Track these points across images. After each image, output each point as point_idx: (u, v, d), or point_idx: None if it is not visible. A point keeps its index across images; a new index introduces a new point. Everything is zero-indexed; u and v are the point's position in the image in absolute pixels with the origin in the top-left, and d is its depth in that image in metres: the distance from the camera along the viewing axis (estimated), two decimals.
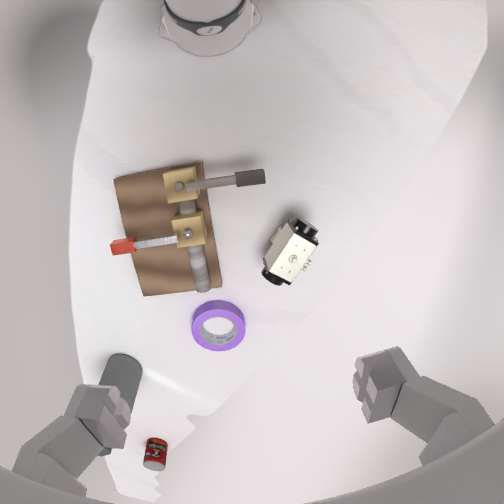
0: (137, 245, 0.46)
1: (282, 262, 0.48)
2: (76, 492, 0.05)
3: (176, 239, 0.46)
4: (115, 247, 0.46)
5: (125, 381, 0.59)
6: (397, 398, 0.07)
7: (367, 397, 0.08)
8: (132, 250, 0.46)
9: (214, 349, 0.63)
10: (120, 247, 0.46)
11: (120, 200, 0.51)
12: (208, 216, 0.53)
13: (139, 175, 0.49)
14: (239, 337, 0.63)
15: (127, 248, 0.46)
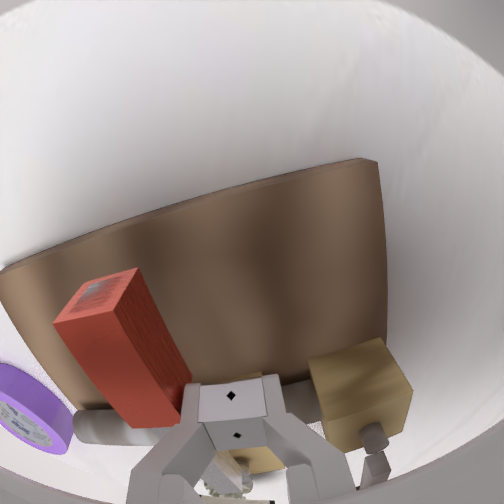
0: (166, 429, 0.08)
1: None
2: None
3: (229, 492, 0.11)
4: (109, 347, 0.06)
5: None
6: (265, 430, 0.07)
7: None
8: (133, 420, 0.07)
9: None
10: (122, 374, 0.06)
11: (298, 190, 0.13)
12: None
13: (381, 260, 0.15)
14: (32, 444, 0.20)
15: (133, 404, 0.07)
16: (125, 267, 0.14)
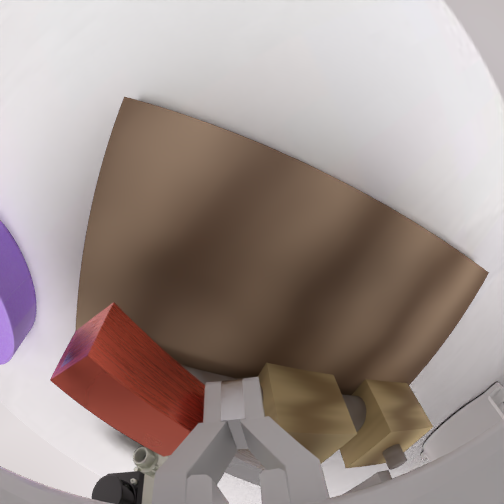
0: None
1: None
2: None
3: None
4: (102, 388, 0.06)
5: None
6: (244, 432, 0.07)
7: None
8: (160, 449, 0.07)
9: None
10: (126, 410, 0.06)
11: (459, 262, 0.15)
12: None
13: (450, 330, 0.18)
14: None
15: (151, 435, 0.07)
16: (343, 228, 0.14)
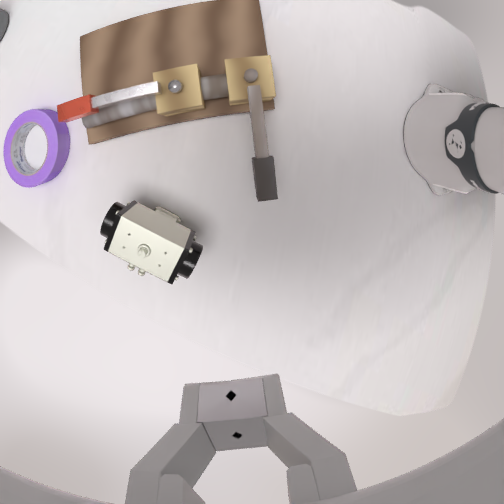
0: (95, 101, 0.24)
1: (136, 235, 0.29)
2: None
3: (156, 87, 0.25)
4: (64, 108, 0.24)
5: None
6: (265, 430, 0.07)
7: None
8: (86, 109, 0.24)
9: (5, 147, 0.29)
10: (70, 107, 0.24)
11: (226, 2, 0.27)
12: (193, 117, 0.33)
13: (260, 28, 0.29)
14: (22, 179, 0.32)
15: (80, 107, 0.24)
16: (156, 22, 0.27)
